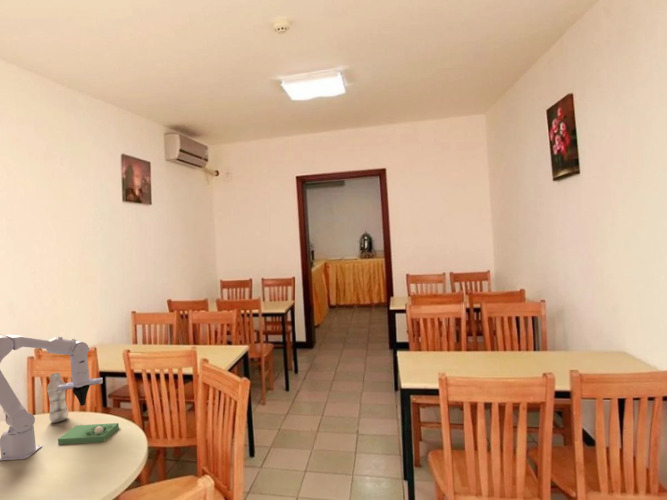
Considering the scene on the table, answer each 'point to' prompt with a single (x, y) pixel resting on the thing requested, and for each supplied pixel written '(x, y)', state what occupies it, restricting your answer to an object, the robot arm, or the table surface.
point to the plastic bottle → (57, 399)
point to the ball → (98, 429)
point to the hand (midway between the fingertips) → (83, 404)
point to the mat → (88, 434)
